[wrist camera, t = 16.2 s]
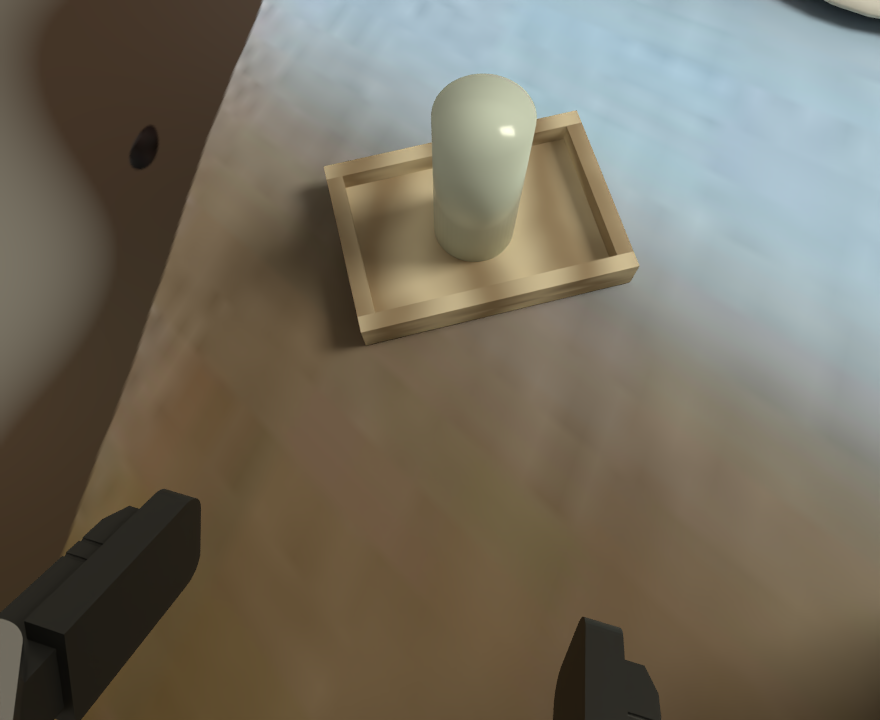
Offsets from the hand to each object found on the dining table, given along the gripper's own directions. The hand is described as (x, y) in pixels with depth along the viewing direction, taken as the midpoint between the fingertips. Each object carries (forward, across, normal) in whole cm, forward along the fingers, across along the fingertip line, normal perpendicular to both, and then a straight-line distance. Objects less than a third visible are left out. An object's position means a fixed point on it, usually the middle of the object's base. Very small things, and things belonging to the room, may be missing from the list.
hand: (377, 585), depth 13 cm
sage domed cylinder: (+37, +4, +2) cm, 38 cm away
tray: (+38, +4, +2) cm, 38 cm away
